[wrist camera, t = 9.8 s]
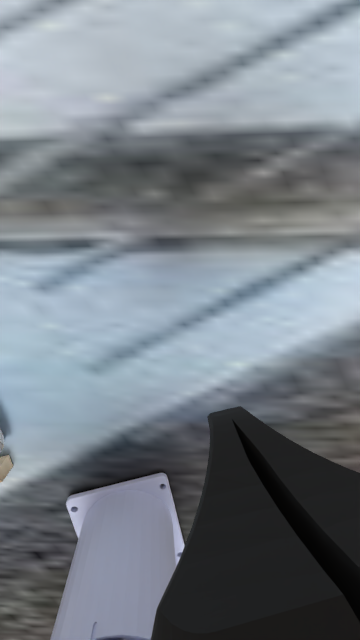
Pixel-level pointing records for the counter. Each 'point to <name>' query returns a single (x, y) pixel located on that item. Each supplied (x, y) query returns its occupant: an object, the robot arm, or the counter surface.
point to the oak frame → (5, 466)
